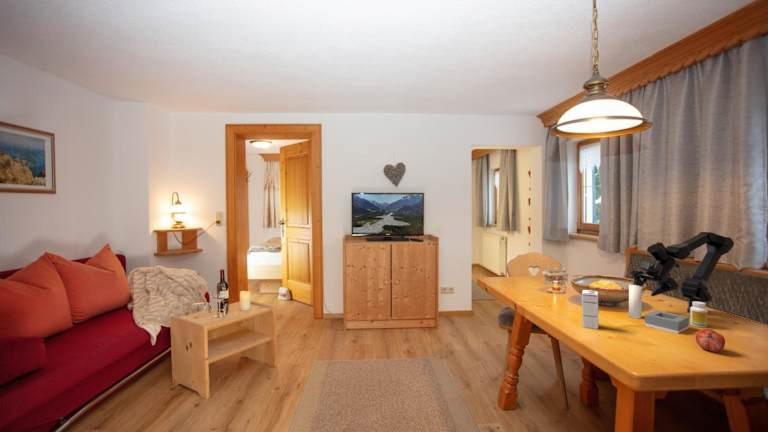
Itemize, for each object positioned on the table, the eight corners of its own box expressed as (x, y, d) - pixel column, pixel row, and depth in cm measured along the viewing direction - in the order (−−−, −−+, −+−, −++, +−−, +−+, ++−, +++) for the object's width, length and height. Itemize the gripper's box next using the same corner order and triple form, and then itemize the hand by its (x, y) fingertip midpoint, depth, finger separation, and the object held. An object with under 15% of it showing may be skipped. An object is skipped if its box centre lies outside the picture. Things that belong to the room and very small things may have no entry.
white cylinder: (629, 314, 155) (629, 284, 154) (641, 316, 152) (642, 285, 151) (628, 317, 151) (628, 286, 151) (641, 319, 148) (641, 287, 148)
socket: (655, 320, 147) (656, 310, 146) (688, 328, 137) (688, 317, 137) (644, 325, 141) (644, 314, 141) (678, 333, 131) (678, 322, 131)
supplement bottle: (710, 328, 137) (711, 304, 137) (695, 327, 138) (695, 304, 138) (701, 323, 142) (701, 300, 142) (686, 322, 143) (686, 300, 143)
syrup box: (598, 329, 137) (598, 294, 136) (581, 326, 140) (582, 292, 139) (598, 325, 141) (598, 291, 141) (582, 322, 145) (582, 289, 144)
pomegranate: (695, 350, 122) (688, 338, 117) (703, 332, 123) (696, 320, 118) (723, 360, 115) (717, 348, 111) (731, 342, 116) (725, 329, 112)
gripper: (634, 253, 161) (613, 276, 160) (673, 259, 143) (651, 285, 141) (647, 268, 163) (627, 292, 161) (688, 276, 145) (666, 303, 143)
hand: (642, 293), depth 152 cm, fingers open, 9 cm apart
